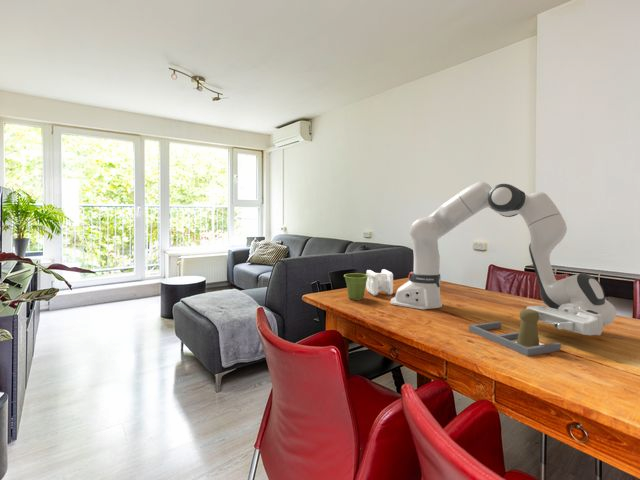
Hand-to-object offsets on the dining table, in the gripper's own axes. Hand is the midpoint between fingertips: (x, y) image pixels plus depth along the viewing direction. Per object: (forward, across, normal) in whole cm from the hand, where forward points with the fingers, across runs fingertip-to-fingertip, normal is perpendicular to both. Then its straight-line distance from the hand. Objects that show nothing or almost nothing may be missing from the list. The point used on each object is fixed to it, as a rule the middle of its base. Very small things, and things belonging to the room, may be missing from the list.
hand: (541, 321), depth 106 cm
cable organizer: (+15, -77, +7) cm, 79 cm away
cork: (+6, 0, +7) cm, 9 cm away
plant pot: (+30, -72, +7) cm, 78 cm away
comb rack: (+6, -5, +7) cm, 10 cm away
